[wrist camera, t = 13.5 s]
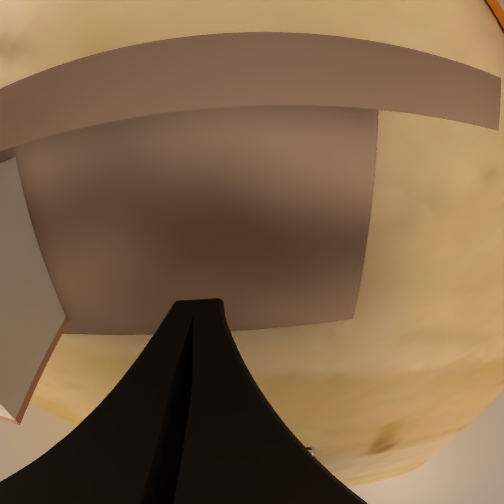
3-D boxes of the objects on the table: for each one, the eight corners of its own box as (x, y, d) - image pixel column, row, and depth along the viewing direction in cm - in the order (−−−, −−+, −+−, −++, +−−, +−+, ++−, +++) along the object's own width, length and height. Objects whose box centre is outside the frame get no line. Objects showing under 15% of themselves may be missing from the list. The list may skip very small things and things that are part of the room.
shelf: (347, 306, 13) (398, 420, 8) (-22, 318, 12) (-68, 392, 7) (368, 72, 9) (500, 77, 3) (-78, 158, 8) (-159, 209, 2)
